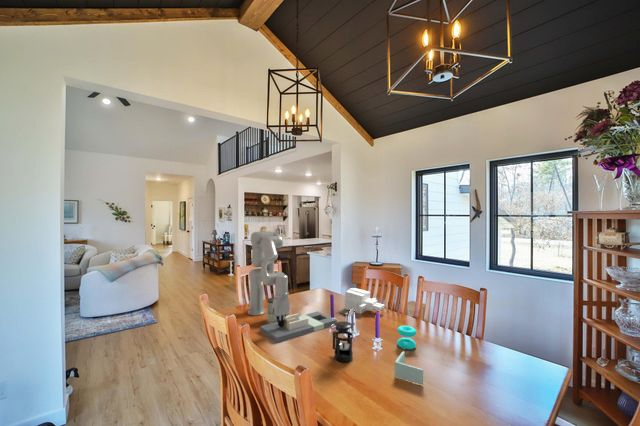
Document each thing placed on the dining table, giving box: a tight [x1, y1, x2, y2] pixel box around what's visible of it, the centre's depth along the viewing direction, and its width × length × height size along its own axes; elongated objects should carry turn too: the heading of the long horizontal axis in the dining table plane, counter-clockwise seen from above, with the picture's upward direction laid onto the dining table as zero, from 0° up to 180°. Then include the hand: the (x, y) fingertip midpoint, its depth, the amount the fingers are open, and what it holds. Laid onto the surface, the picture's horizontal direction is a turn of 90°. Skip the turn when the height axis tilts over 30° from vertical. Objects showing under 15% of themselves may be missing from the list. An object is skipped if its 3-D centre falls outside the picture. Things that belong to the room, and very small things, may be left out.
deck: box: [259, 311, 338, 344], centre depth 180 cm, size 20×45×7 cm, turn 129°
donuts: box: [396, 325, 417, 350], centre depth 156 cm, size 10×10×10 cm
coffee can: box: [266, 296, 278, 324], centre depth 191 cm, size 10×10×14 cm
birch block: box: [283, 315, 296, 329], centre depth 174 cm, size 6×6×5 cm
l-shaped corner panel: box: [394, 350, 424, 386], centre depth 128 cm, size 12×12×8 cm
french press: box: [332, 311, 354, 364], centre depth 143 cm, size 12×9×23 cm
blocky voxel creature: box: [343, 287, 386, 315], centre depth 212 cm, size 15×25×28 cm
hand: (280, 326), depth 171 cm, fingers closed
